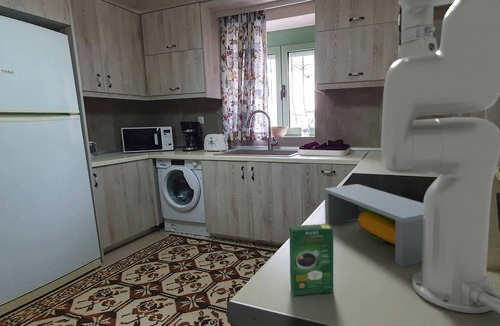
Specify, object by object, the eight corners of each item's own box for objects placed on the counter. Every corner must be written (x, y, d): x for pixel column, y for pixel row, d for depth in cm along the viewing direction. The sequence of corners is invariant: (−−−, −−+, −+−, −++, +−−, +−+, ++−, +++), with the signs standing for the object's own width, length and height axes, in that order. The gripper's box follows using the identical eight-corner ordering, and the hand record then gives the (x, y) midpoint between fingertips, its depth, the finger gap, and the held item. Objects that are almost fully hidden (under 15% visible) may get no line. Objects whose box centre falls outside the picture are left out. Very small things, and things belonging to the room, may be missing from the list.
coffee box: (330, 285, 58) (329, 221, 57) (335, 293, 56) (334, 227, 54) (290, 288, 58) (287, 225, 56) (293, 297, 55) (290, 230, 53)
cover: (446, 214, 65) (446, 210, 65) (402, 222, 62) (402, 218, 62) (357, 187, 95) (357, 184, 95) (324, 191, 91) (324, 188, 91)
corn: (372, 201, 87) (428, 222, 67) (374, 225, 88) (429, 253, 69) (350, 205, 85) (401, 229, 66) (352, 230, 86) (402, 261, 67)
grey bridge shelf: (444, 256, 67) (446, 214, 65) (402, 267, 63) (402, 222, 62) (357, 216, 96) (357, 187, 95) (325, 222, 93) (324, 191, 91)
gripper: (452, 28, 75) (450, 101, 77) (406, 44, 89) (405, 105, 92) (429, 27, 73) (427, 102, 75) (385, 43, 87) (385, 106, 89)
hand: (415, 104), depth 83 cm, fingers closed
